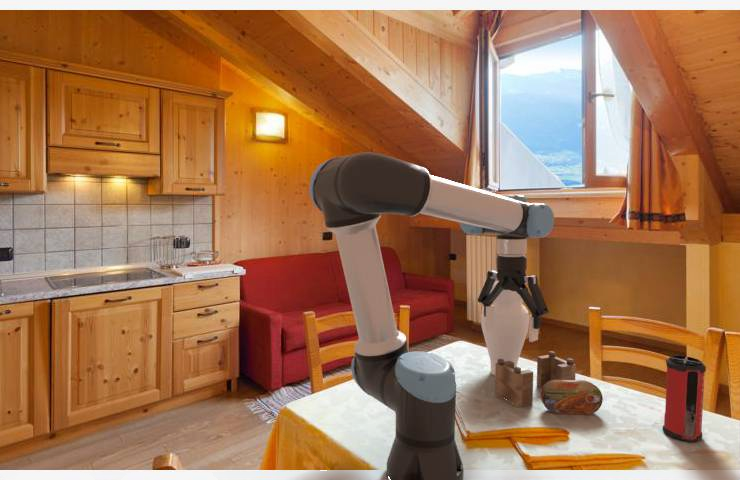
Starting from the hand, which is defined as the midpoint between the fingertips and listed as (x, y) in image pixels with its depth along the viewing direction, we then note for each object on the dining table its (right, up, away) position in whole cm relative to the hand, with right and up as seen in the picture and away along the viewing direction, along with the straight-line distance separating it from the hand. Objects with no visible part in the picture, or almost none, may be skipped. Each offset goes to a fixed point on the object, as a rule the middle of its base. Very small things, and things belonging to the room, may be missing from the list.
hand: (510, 334), depth 122 cm
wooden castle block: (+10, -19, +9) cm, 23 cm away
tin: (+15, -20, -2) cm, 25 cm away
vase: (+6, -18, +26) cm, 32 cm away
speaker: (+36, -21, -14) cm, 44 cm away
